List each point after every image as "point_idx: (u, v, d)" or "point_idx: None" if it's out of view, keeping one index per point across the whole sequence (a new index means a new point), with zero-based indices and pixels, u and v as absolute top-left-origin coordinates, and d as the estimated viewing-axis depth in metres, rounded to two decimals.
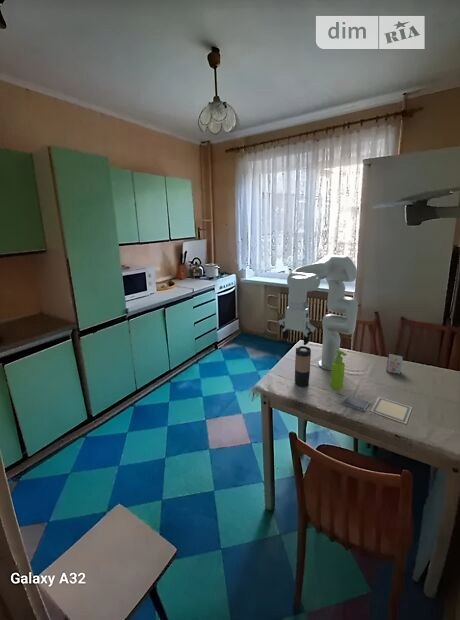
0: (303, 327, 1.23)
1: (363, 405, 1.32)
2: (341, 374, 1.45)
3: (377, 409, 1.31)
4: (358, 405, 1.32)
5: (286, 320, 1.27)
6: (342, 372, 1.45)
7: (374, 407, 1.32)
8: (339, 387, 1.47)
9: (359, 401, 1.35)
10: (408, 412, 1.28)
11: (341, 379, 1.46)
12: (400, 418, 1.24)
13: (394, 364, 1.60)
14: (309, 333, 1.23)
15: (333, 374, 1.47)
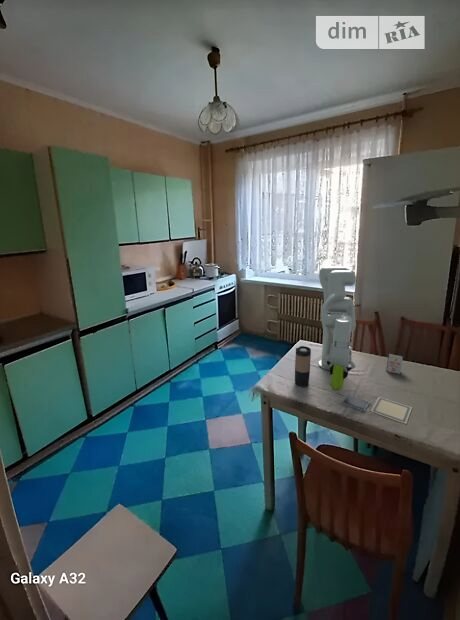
0: (347, 363, 1.41)
1: (363, 405, 1.32)
2: (342, 374, 1.45)
3: (377, 409, 1.31)
4: (358, 405, 1.32)
5: (330, 356, 1.45)
6: (343, 372, 1.45)
7: (374, 407, 1.32)
8: (339, 387, 1.47)
9: (359, 401, 1.35)
10: (408, 412, 1.28)
11: (342, 379, 1.46)
12: (400, 418, 1.24)
13: (394, 364, 1.60)
14: (349, 369, 1.42)
15: (334, 374, 1.46)
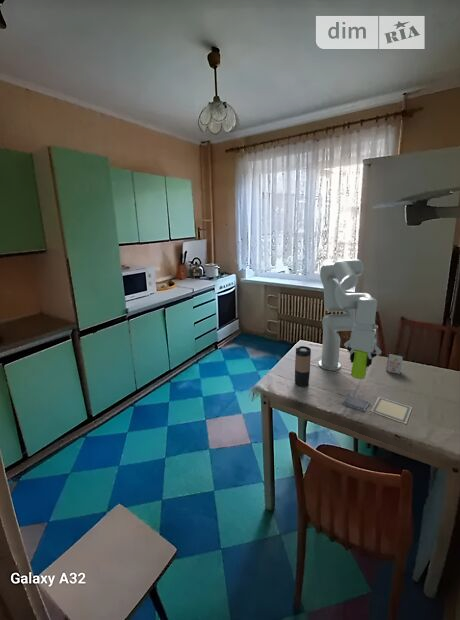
0: (371, 348, 1.23)
1: (363, 405, 1.32)
2: (365, 362, 1.26)
3: (377, 409, 1.31)
4: (358, 405, 1.32)
5: (352, 341, 1.27)
6: (366, 359, 1.26)
7: (374, 407, 1.32)
8: (362, 376, 1.29)
9: (359, 401, 1.35)
10: (408, 412, 1.28)
11: (365, 367, 1.27)
12: (400, 418, 1.24)
13: (394, 364, 1.60)
14: (373, 355, 1.24)
15: (356, 361, 1.28)
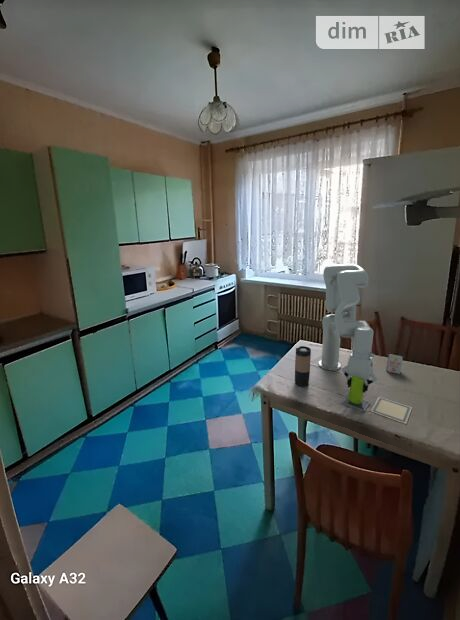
0: (368, 376, 1.27)
1: (363, 405, 1.32)
2: (362, 388, 1.30)
3: (377, 409, 1.31)
4: (358, 405, 1.32)
5: (349, 367, 1.31)
6: (363, 386, 1.30)
7: (374, 407, 1.32)
8: (358, 401, 1.33)
9: None
10: (408, 412, 1.28)
11: (361, 393, 1.32)
12: (400, 418, 1.24)
13: (394, 364, 1.60)
14: (369, 382, 1.28)
15: (352, 387, 1.32)
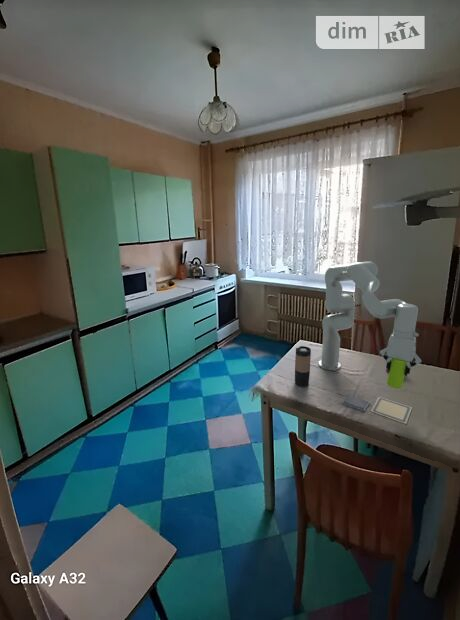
0: (411, 357, 1.18)
1: (363, 405, 1.32)
2: (403, 371, 1.22)
3: (377, 409, 1.31)
4: (358, 405, 1.32)
5: (389, 349, 1.23)
6: (405, 368, 1.22)
7: (374, 407, 1.32)
8: (399, 386, 1.24)
9: (359, 401, 1.35)
10: (408, 412, 1.28)
11: (402, 376, 1.23)
12: (400, 418, 1.24)
13: None
14: (412, 364, 1.20)
15: (393, 370, 1.23)
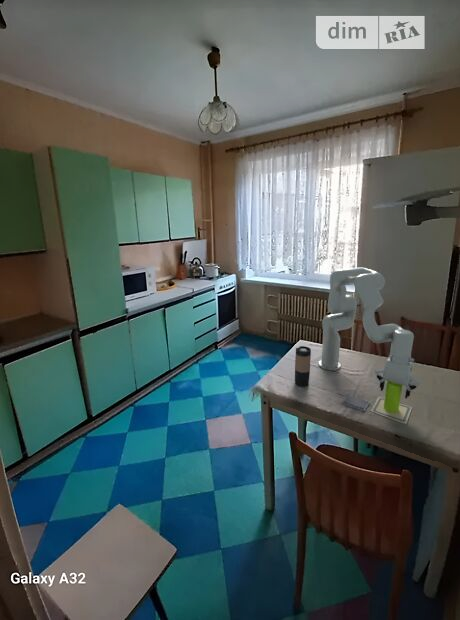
0: (407, 381, 1.22)
1: (363, 405, 1.32)
2: (398, 395, 1.26)
3: (377, 409, 1.31)
4: (358, 405, 1.32)
5: (386, 372, 1.26)
6: (399, 393, 1.26)
7: (374, 407, 1.32)
8: (395, 410, 1.28)
9: (359, 401, 1.35)
10: (408, 412, 1.28)
11: (398, 401, 1.27)
12: (400, 418, 1.24)
13: None
14: (413, 387, 1.22)
15: (388, 395, 1.28)
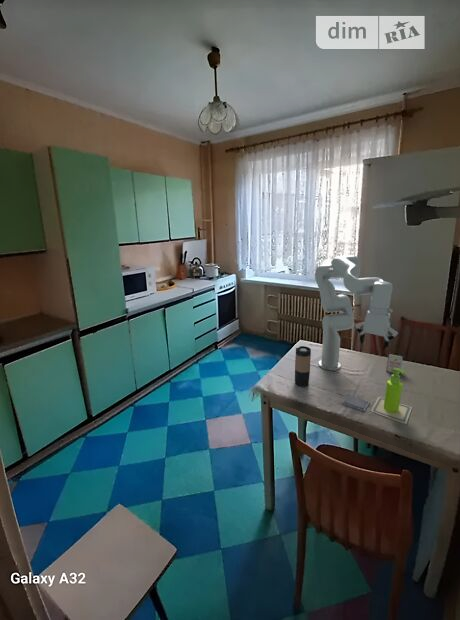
0: (385, 332, 1.25)
1: (363, 405, 1.32)
2: (399, 395, 1.26)
3: (377, 409, 1.31)
4: (358, 405, 1.32)
5: (366, 324, 1.29)
6: (400, 393, 1.26)
7: (374, 407, 1.32)
8: (395, 410, 1.28)
9: (359, 401, 1.35)
10: (408, 412, 1.28)
11: (398, 401, 1.27)
12: (400, 418, 1.24)
13: (394, 364, 1.60)
14: (391, 338, 1.25)
15: (388, 395, 1.28)
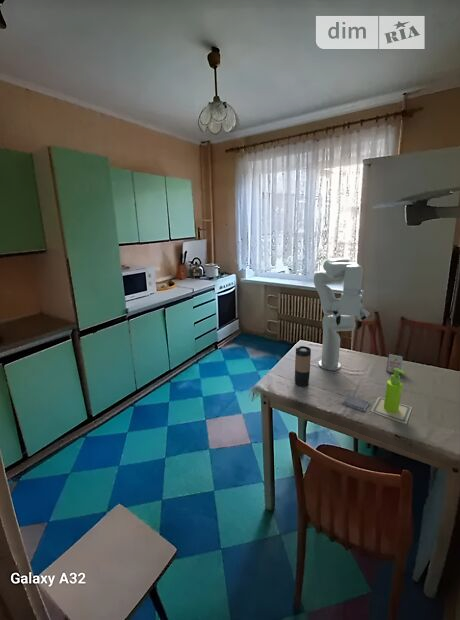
0: (358, 312, 1.33)
1: (363, 405, 1.32)
2: (399, 395, 1.26)
3: (377, 409, 1.31)
4: (358, 405, 1.32)
5: (340, 306, 1.38)
6: (400, 393, 1.26)
7: (374, 407, 1.32)
8: (395, 410, 1.28)
9: (359, 401, 1.35)
10: (408, 412, 1.28)
11: (398, 401, 1.27)
12: (400, 418, 1.24)
13: (394, 364, 1.60)
14: (363, 317, 1.34)
15: (389, 395, 1.27)
